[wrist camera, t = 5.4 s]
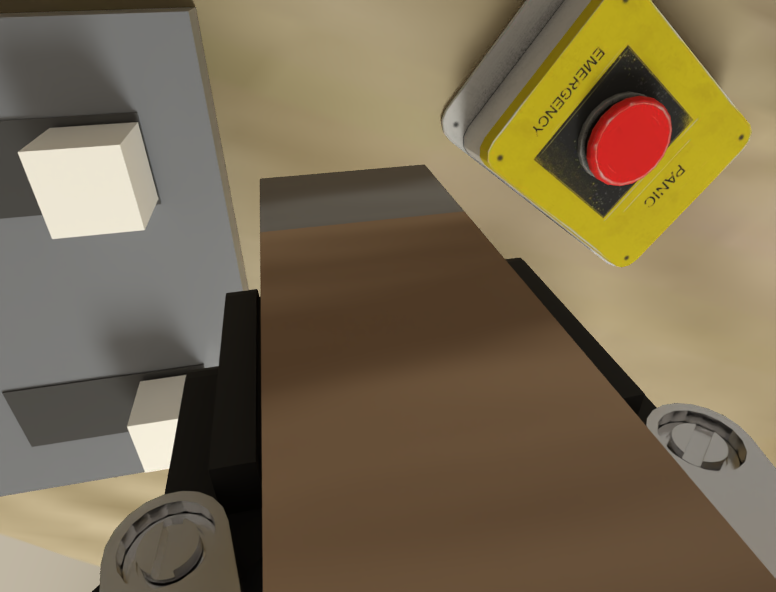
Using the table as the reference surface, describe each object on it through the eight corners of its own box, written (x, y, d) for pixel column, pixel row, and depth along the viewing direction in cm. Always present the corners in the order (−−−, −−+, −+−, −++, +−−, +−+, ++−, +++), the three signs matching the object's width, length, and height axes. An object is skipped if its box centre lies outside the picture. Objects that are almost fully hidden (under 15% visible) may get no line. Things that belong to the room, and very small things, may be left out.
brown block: (259, 178, 12) (266, 1079, 2) (424, 164, 13) (982, 820, 3) (281, 318, 14) (332, 1101, 4) (421, 300, 15) (739, 947, 5)
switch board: (-301, 22, 18) (-380, 30, 15) (195, 7, 20) (187, 11, 18) (-18, 465, 29) (-40, 504, 27) (272, 418, 32) (273, 451, 30)
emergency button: (626, -69, 18) (803, 163, 25) (565, -62, 22) (734, 139, 29) (459, 151, 21) (658, 305, 28) (429, 124, 25) (612, 267, 32)
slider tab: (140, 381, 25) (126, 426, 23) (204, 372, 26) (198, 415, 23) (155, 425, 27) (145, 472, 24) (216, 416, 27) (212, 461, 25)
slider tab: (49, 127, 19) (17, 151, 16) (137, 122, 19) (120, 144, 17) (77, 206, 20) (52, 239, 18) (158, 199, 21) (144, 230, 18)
